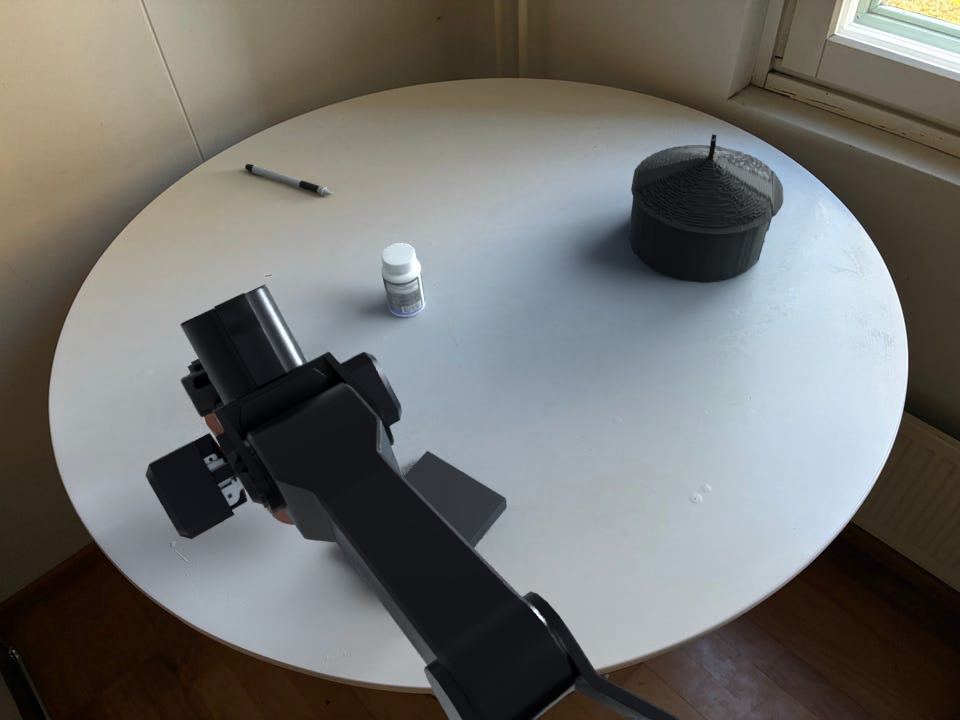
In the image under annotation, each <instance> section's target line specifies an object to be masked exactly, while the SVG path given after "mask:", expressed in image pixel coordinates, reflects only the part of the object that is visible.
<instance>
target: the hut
mask: <svg viewBox="0 0 960 720" xmlns="http://www.w3.org/2000/svg"><path fill="white" fill-rule="evenodd" d="M716 143H717V134H711V138H710V143H709V145H708V144H706V145H705V144H687V145H679V146H673V147H669V148H666V149H662V150H659V151H656V152H654V153H652V154H650V155H649V156H647V157H646V158H645V159H643V160H642V161H641V162H640V163H639V164H638V165H637V166H636V167H635V169H634V172H633V175H632V176H633V177H632V182H631V189H630V191H631V195H632V203H631V210H630V211H631V212H630V222H629V230H628V243H629V245H630V248H631V251H632V252H633V254H634V255H635V256H636V258H637V259H638V260H639V261H640V262H642V263H643V264H644V265H645V266H646V267H647V268H649V269H650V270H652V271H654V272H656V273H657V274H659V275H662V276H665V277H668V278H670V279H673V280H678V281H680V282H681V281H682V282H692V283H702V284H703V283H704V284H705V283H717V282H723V281H728V280H730V279H734V278H736V277H738V276H740V275H742V274H744V273H746V272H748V271H749V270H750V269H751V268H752V267H754V266H755V264H756V263H757V261H759V260H760V257H761V253H762V250H763V248H764V247H763V246H764V243H765V242H766V241H765V240H766V237H767V232H768V231H769V230H770V227H771V223H772V219H773V218H774V217H776V215H778V213H779V211H780V210H781V208H782V206H783V204H784V187H783V184H782V182H781V180H780V178H779V177H778V176H777V174H776V172H775V171H774V170H772V169H771V168H770V166H768V165H767V164H766V163H764V162H763V161H762V160H760V159H758V158H757V157H755V156H752V155H751V154H749V153H744V152H742V151H740V150H739V151H738V150H735V149H731V148H726V147H723V146H720V145H717V144H716Z"/></svg>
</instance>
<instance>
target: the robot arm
mask: <svg viewBox="0 0 960 720" xmlns="http://www.w3.org/2000/svg"><path fill="white" fill-rule="evenodd" d="M179 325H180V328H181V330H182V331H183V333H184V334H185V335H184V336H186V338H187V340H188V341H189V344H190V345H191V347H192V349H193V351H194V353H195V354H196V356H197V359H195V360H192V361H191V362H190V363H191V364H190V365H187V366H186V367H187V369H188V371H189V373H188V374H187V375H185V376H183V377H182V378H180V383H181V385H182V387H183V389H184V391H185V392H186V394H187V396H188V399H189V400H190V401H191V404H192V405H193V406H194V409H195V411H196V413H198V416H199V417H200V418H204V416H206V415H208V414H211V413H212V414H214V415H215V417H216V419H217V420H218V422H219V424H220V426H221V428H222V429H223V431H224V432H223V433H221V434H220V435H218V436H216V437H215V436H214V437H213V434H211V432H208V433H206V434H204V435H203V436H200V437H198V438H197V439H195V440H191V441H189V442H187V443H185V444H183V445H181V446H179V447H178V448H175V449H173V450H172V451H169V452H168V453H166V454H164V455H161V456H160V457H158V458H156V459H154V460H152V461H151V462H149V463H148V466H147V469H146V472H145V474H144V476H145V477H146V480H147V482H148V484H149V486H150V487H151V489H152V491H153V492H154V494H155V496H156V498H157V500H158V501H159V503H160V504H161V506H162V508H163V510H164V511H165V513H166V515H167V517H168V519H169V520H170V522H171V524H172V526H173V527H174V529H175V531H176V532H177V533H178V535H179V537H182V538H186V539H188V540H193V539H196V538H197V537H198V536H200V535H202V534H204V533H206V532H207V531H209V530H211V529H212V528H214V527H216V526H218V525H219V524H221V523H223V522H225V521H226V520H228V519H230V518H231V517H234V516H236V515H235V513H234V510H235V509H237V508H238V507H240V506H242V505H244V504H245V503H247V502H248V497H249V498H250V500H251V502H252V503H254V504H258V505H262V506H263V508H264V509H266V510H267V507H268V508H269V509H270V511H271V512H272V514H273V515H274V514H276V513H277V512H279V511H281V510H282V509H284V510H285V512H286V513H287V515H288V516H289V518H290V519H291V521H292V522H293V523H294V525H293V526H295V527H296V529H297V530H298V532H299V533H300V534H301V536H302V537H303V538H304V539H305V540H307V541H308V540H309V541H318V542H326V543H336V544H337V545H338V547H339V548H340V549H341V550H342V551H343V553H344V554H345V556H346V557H347V558H348V560H349V561H350V562H351V563H352V565H353V566H354V567H355V569H356V571H357V572H358V573H359V574H360V576H361V577H362V578H363V580H364V582H365V583H366V584H367V586H368V587H369V588H370V589H371V591H372V593H373V594H374V595H375V597H376V598H377V599H378V601H379V602H380V603H381V604H382V606H383V607H384V609H385V610H386V611H387V613H388V614H389V616H390V617H391V618H392V619H393V621H394V622H395V624H396V625H397V627H398V628H399V629H400V631H401V632H402V633H403V635H404V636H405V637H406V638H407V640H408V641H409V643H410V644H411V645H412V647H413V648H414V650H415V651H416V652H417V654H418V655H419V656H420V658H421V659H422V661H423V662H424V663H425V665H426V666H424V668H423V672H424V674H425V677H426V679H427V681H428V684H429V685H430V688H431V690H432V692H433V694H434V695H435V697H436V699H437V700H438V702H439V704H440V705H441V707H442V709H443V711H444V712H445V714H446V716H447V718H448V719H449V720H537V719H538V718H540V717H541V716H542V715H543V714H544V713H546V712H547V711H548V710H550V709H551V708H552V707H554V706H555V705H556V704H557V703H558V702H560V701H561V700H563V698H564V697H565V698H566V696H567V695H569V694H570V693H571V692H572V691H577V692H579V693H580V694H582V695H584V696H586V697H587V698H590V699H591V700H594V701H595V702H597V703H599V704H601V705H603V706H605V707H607V708H608V709H610V710H612V711H614V712H616V713H617V714H619V715H620V716H623V717H625V718H627V719H628V720H680V719H679V718H678V717H677V716H676V715H674V714H673V713H671V712H669V711H667V710H665V709H664V708H661V707H659V706H658V705H656V704H654V703H652V702H650V701H648V700H647V699H645V698H643V697H641V696H639V695H637V694H636V693H633V692H632V691H630V690H628V689H626V688H624V687H622V686H621V685H619V684H617V683H615V682H613V681H612V680H609V679H608V678H606V677H604V676H602V675H601V674H599V673H598V672H597V671H596V670H595V668H594V665H593V664H592V663H591V661H590V660H589V658H588V657H587V655H586V653H585V652H584V650H583V648H582V647H581V646H580V644H579V642H578V641H577V640H576V638H575V636H574V634H573V633H572V632H571V630H570V629H569V627H568V626H567V624H566V623H565V621H564V620H563V619H562V617H561V616H560V614H559V613H558V612H557V611H556V610H555V609H554V607H552V605H551V604H550V603H549V602H548V601H547V600H546V599H544V598H543V597H542V596H541V595H540V594H539V593H537V592H534V591H531V590H530V591H529V592H527V593H526V594H524V595H523V596H522V595H521V594H520V593H519V592H518V591H517V590H515V588H513V586H511V584H510V583H509V582H508V581H507V580H506V579H505V578H504V577H503V575H501V574H500V573H499V572H498V570H496V569H495V568H494V566H492V564H490V563H489V562H488V560H486V559H485V558H484V557H483V555H481V554H480V553H479V552H478V551H477V550H476V549H475V547H474V548H473V547H472V546H471V545H470V544H469V543H468V542H467V541H466V540H465V539H464V538H463V537H462V536H461V535H460V534H459V533H458V532H457V531H456V530H455V529H454V528H453V527H452V525H451V524H450V523H449V522H448V521H447V520H446V519H445V518H444V517H443V516H442V515H441V514H440V513H439V512H438V511H437V510H436V509H435V508H434V507H433V506H432V505H431V504H430V503H429V502H428V501H427V500H426V499H425V498H424V497H423V496H422V495H421V494H420V493H419V492H418V491H417V490H416V489H415V488H414V487H413V486H412V485H411V484H410V483H409V482H408V481H407V480H406V479H405V478H404V477H403V476H404V475H403V473H402V470H401V469H400V466H399V463H398V460H397V458H396V455H395V453H394V450H393V448H392V446H394V444H395V439H394V435H393V432H392V430H391V426H393V425H394V424H396V423H398V422H400V421H401V418H402V414H403V413H402V412H403V408H402V404H401V402H400V400H399V398H398V396H397V395H396V393H395V391H394V388H393V387H392V385H391V383H390V381H389V379H388V377H387V376H386V373H385V372H384V370H383V368H382V366H381V363H380V362H379V360H378V359H377V358H376V357H375V355H374V354H372V353H368V352H365V351H363V352H359V353H357V354H355V355H354V356H351V357H350V358H348V359H346V360H344V361H341V362H340V361H339V360H338V359H337V358H336V357H335V356H334V355H333V353H332V352H331V351H329V350H328V351H326V352H324V353H322V354H321V355H319V356H317V357H315V358H313V359H310V360H309V361H308V360H307V359H306V357H305V354H304V353H303V351H302V349H301V348H300V346H299V344H298V342H297V340H296V338H295V336H294V335H293V333H292V331H291V329H290V327H289V326H288V323H287V321H286V320H285V318H284V316H283V314H282V312H281V310H280V308H279V306H278V304H277V303H276V301H275V299H274V296H273V295H272V293H271V292H270V290H269V288H268V286H267V284H265V283H264V284H263V285H260V286H258V287H256V288H253V289H252V290H249V291H247V292H245V293H244V292H242V293H240V294H238V295H236V296H233V297H232V298H230V299H227V300H225V301H223V302H222V303H219V304H217V305H214V306H213V307H212V308H211V309H209V310H206V311H204V312H202V313H199V314H198V315H195V316H193V317H191V318H189V319H186V320H184V321H183V322H181V323H180V324H179ZM246 493H247V494H246ZM247 495H248V497H247ZM272 514H271V515H272ZM273 515H272V516H273Z"/></svg>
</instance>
